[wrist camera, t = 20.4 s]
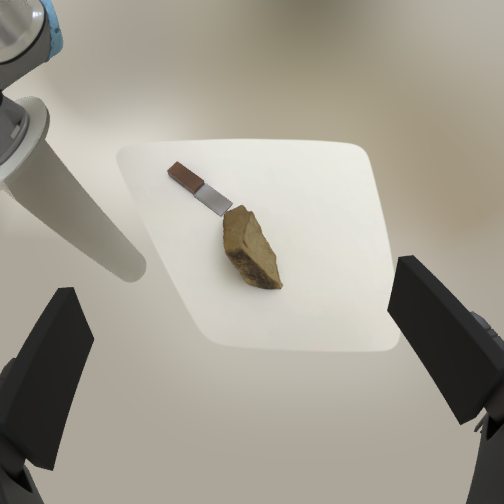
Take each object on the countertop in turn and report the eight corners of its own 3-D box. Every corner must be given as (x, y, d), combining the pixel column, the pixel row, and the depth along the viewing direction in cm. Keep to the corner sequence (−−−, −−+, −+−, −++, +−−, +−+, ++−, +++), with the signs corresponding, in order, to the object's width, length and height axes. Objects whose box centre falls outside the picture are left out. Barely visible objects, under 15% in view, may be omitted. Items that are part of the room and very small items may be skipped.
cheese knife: (167, 176, 42) (166, 171, 41) (179, 164, 43) (178, 160, 42) (220, 216, 41) (220, 212, 40) (232, 203, 41) (232, 199, 40)
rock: (208, 194, 39) (188, 267, 35) (252, 165, 33) (235, 248, 29) (270, 231, 45) (260, 298, 41) (317, 212, 39) (311, 287, 34)
